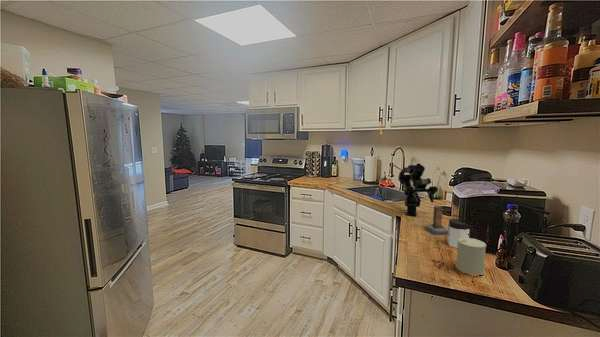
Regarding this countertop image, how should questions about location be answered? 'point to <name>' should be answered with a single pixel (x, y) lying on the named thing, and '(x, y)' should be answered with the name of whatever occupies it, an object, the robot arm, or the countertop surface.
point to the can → (470, 256)
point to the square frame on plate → (436, 230)
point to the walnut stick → (437, 217)
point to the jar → (456, 232)
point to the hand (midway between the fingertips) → (425, 202)
